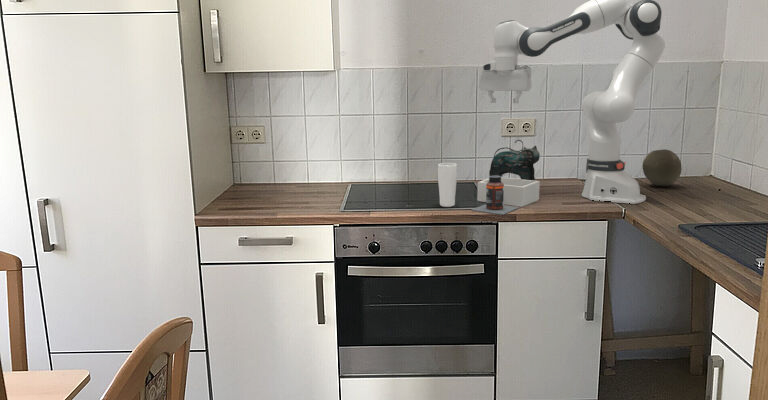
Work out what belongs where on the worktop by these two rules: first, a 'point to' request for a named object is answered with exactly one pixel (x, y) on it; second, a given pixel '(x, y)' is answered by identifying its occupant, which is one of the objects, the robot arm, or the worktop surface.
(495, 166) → the ceramic cat
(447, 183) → the drinking glass
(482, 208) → the mat
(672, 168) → the cantaloupe
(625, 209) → the worktop surface
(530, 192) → the box
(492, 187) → the supplement bottle
